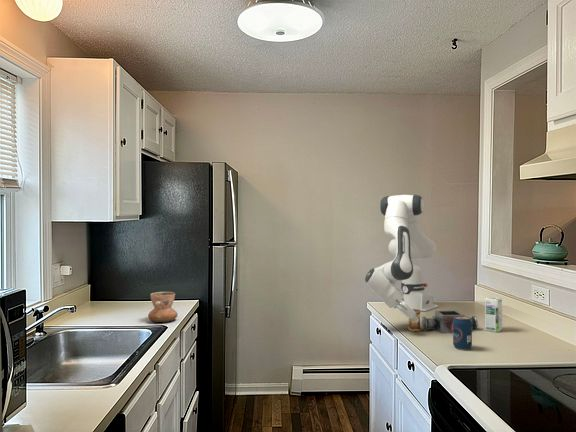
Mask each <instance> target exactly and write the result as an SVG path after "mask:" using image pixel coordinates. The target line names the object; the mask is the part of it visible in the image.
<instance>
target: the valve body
mask: <svg viewBox="0 0 576 432" xmlns="http://www.w3.org/2000/svg"><path fill="white" fill-rule="evenodd" d="M455 316H466V315H464V314H463V313H461V312H460V311H458V310H435V311H434V315H433V316H432V317H431V318H429V317H426V316H423V317H422V320H421V325H422V329H423V331H427V330H428V329H435V330H436V331H437V332H439V333H440V334H449V333H450V334H451V333H452V334H453V320H454V317H455ZM469 318H470V320H471V322H472V330H477V329H478V327H479V325H478V324H479V323H478V317H477V316H476V315H472V316H471V317H469Z"/></svg>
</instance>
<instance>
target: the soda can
mask: <svg viewBox="0 0 576 432" xmlns="http://www.w3.org/2000/svg"><path fill="white" fill-rule="evenodd" d="M470 318H471V317H469V316H466V315H465V316H455V317H454V320H453V333H452V344H453V346H454V348H455V349H456V350H461V351H462V350H463V351H469V350H471V349H472V345H473V344H472V343H473V333H472V332H473V328H472V322H471V320H470Z"/></svg>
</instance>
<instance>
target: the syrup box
mask: <svg viewBox="0 0 576 432" xmlns="http://www.w3.org/2000/svg"><path fill="white" fill-rule="evenodd" d="M502 302H503V299H502V298H499V297H491V296H488V297H486V298H484V318H485V319H484V330H485V331H488V332H492V333H499V332H501V331H502V330H503V303H502Z"/></svg>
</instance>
